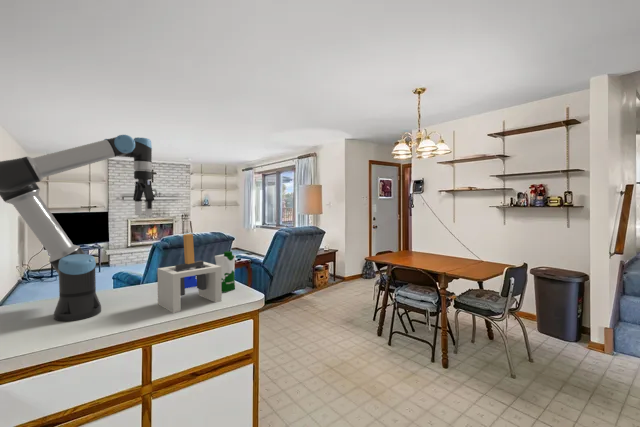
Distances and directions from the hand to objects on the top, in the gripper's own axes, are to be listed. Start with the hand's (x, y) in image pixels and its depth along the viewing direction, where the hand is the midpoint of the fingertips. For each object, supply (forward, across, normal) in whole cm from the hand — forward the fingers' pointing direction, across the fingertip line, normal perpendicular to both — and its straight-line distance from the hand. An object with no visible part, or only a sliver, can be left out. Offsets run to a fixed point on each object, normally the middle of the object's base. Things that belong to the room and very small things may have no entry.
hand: (143, 215), depth 155 cm
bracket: (+39, +1, -27) cm, 47 cm away
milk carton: (+39, -20, -32) cm, 54 cm away
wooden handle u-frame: (+34, -27, -10) cm, 44 cm away
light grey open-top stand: (+39, -27, -10) cm, 48 cm away
